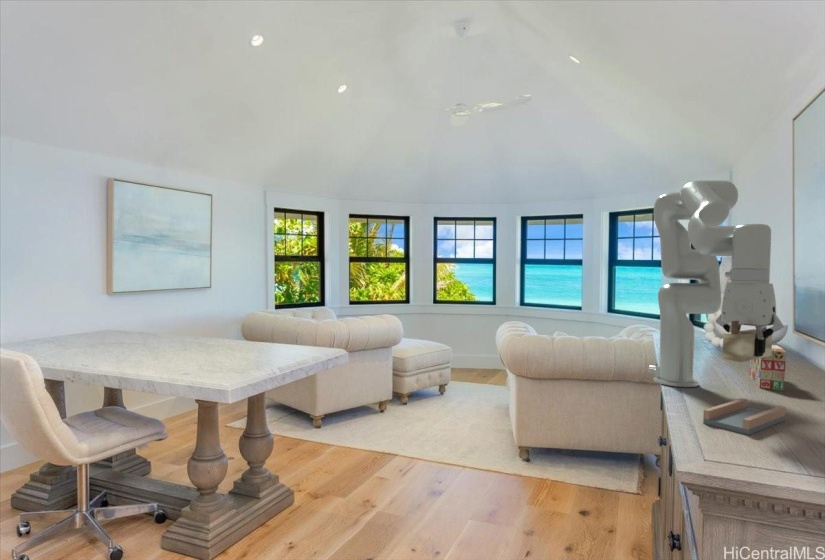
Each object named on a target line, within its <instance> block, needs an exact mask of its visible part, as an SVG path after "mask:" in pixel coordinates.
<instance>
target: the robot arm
mask: <svg viewBox="0 0 825 560" xmlns="http://www.w3.org/2000/svg"><path fill="white" fill-rule="evenodd" d="M738 191H739V190H738V188H737V187H736V185H735V184H734V183H733V182H731V181H728V180H694V181H691V182H688V183H686V184H685V185H683V186H682V188H681V190H680V192H667V193H664V194H661V195H660V196H658V197H657V198H656V200H655V202H654V206H653V220H654V223H655V226H656V229H657V232H658V235H659V240H660V261H661V271H662V274H663V276H664V277H665V278H667V279H670V280H671V279H672V280H696V281H698V283H695V282H694V283H690V282H671V283H666V284H664V285H662V286H661V287H660V288H659V290H658V293H657V300H658V307H659V320H660V321H659V322H660V326H659V330H660V331H659V358H658V361H659V365H657V366H655V365H650V364H649V366H648V369H647V370H648V373H654V374H655V375H654V376H653V382H655V383H658V384H660V385H661V384H662V385H665V386H671V387H679V388H695V387H697V386H699V381H698V380H697V379H694V359H695V358H694V357H695V354H694V353H695V351H694V350H695V327H694V324H693V323H692V321H691V320H690V318H689V317H688V316H687V315H690V314H691V315H692V314H695V315H711V314H715V313H717V312H718V311H719V310H720V308H721V313H720V315H719V316H718V317H717V318H716V319H715V323H716V324H718V325H719V327H720V326H721V328H722V329H724V331H725V332H726V333H729V332H731V330H732V321H739V327H738V331H741V328H742V326H749V327H755V329H756V332H757V339H755V350H754V356H756V357H759V356H763V353H765V345H766V339H767V338H768V337H769V336H771V335H772V336H773V334H775V333H777V332H779V331H781V330H783V329H784V328H785V325H784V324H783V322H782V320H780V318H779V316H778V315H777V301H776V295H775V288H774V285H773V283H771V282H770V277H771V275H770V272H771V251H772V249H771V246H772V243H771V242H772V230H771V229H772V228H771V226H769V225H768V224H763V223H745V224H738V225H735V226H734V225H722V224H723V223H724V222H725V221H726V219H728V216H729V214H730V210H731V209H733V208H734V207H735V205H736V204H737V202H738V198H739V192H738ZM679 220H680V221H681V220H684V221H687V220H689V221H688V225H687V228H686V227H684V225H683V224H682V223H681V222H680V221H679ZM691 245H692V246H691ZM692 247H693V248H694V249H693V248H692ZM718 257H731V269H730V270H729V271H726V272H725V273H724V276H725V277H726V278H728V279H729V280H730V282H726V283H725V288H724V290H723V291H724V292H723V296H722V288H721V286H722V285H721V275H720V265H719V264H720V263H719V260H718ZM768 326H769V328H768Z"/></svg>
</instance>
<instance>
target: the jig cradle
mask: <svg viewBox="0 0 825 560" xmlns="http://www.w3.org/2000/svg"><path fill="white" fill-rule="evenodd" d="M786 409H787V408H786V406H784V405H783V406H782V405H778V406H775V407H773V408H770V409H768V410H762V409H758V408H753V407H750V406H749V407H748V399H747V398H742V397H741V398H738V399H735V400H732V401H727V402H725V403H721V404H718V405H716V406H713V407H709V408H706V409H703V415H702V416H703V418H702V419H703V420H702V421H703V423H702V424H704V425H707V426H712V427H717V428H719V429H723V430H728V431H731V432H734V433H740V434H743V435H747V436H750V435H753V434H754V433H758V432H759V431H762V430H764V429H767V428H769V427H772V426H774V425H777V424H779V423H782V422H784V421H786V411H787V410H786Z"/></svg>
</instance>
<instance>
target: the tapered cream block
mask: <svg viewBox="0 0 825 560" xmlns="http://www.w3.org/2000/svg"><path fill="white" fill-rule="evenodd" d="M738 327H739V321H732V330H731V332H729V333H728V332H722V333H723V336H722V359H721V360H727V361H733V362H738V363H739V362H740V363H744V362H750V360H754V359H759V358H764V357H768V356H771V354H772V345H773V334H772V335H771V336H769V337H768V338H767V339H766V345H765V353H763V356H759V357H756V356H754V350H755V339H757V332H756V328H753V329H746V330H740V331H738Z"/></svg>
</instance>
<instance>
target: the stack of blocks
mask: <svg viewBox="0 0 825 560" xmlns="http://www.w3.org/2000/svg"><path fill="white" fill-rule="evenodd" d="M786 357H787V351H786V350H785V349H784V348H783V347H780V346H779V345H773V344H772V354H771V356H768V357H764V358H759V359H754V360H749V376H750V378H751V379H752V381H753V380H754V381H755V382H754V381H753V382H754V383H755V384H756V385H758V386H757V387H758V389H760V388H762V389H761V390H773V391H782V392H784V391H785V383H786V382H785V376H786V375H785V374H786V373H785V372H786Z"/></svg>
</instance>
